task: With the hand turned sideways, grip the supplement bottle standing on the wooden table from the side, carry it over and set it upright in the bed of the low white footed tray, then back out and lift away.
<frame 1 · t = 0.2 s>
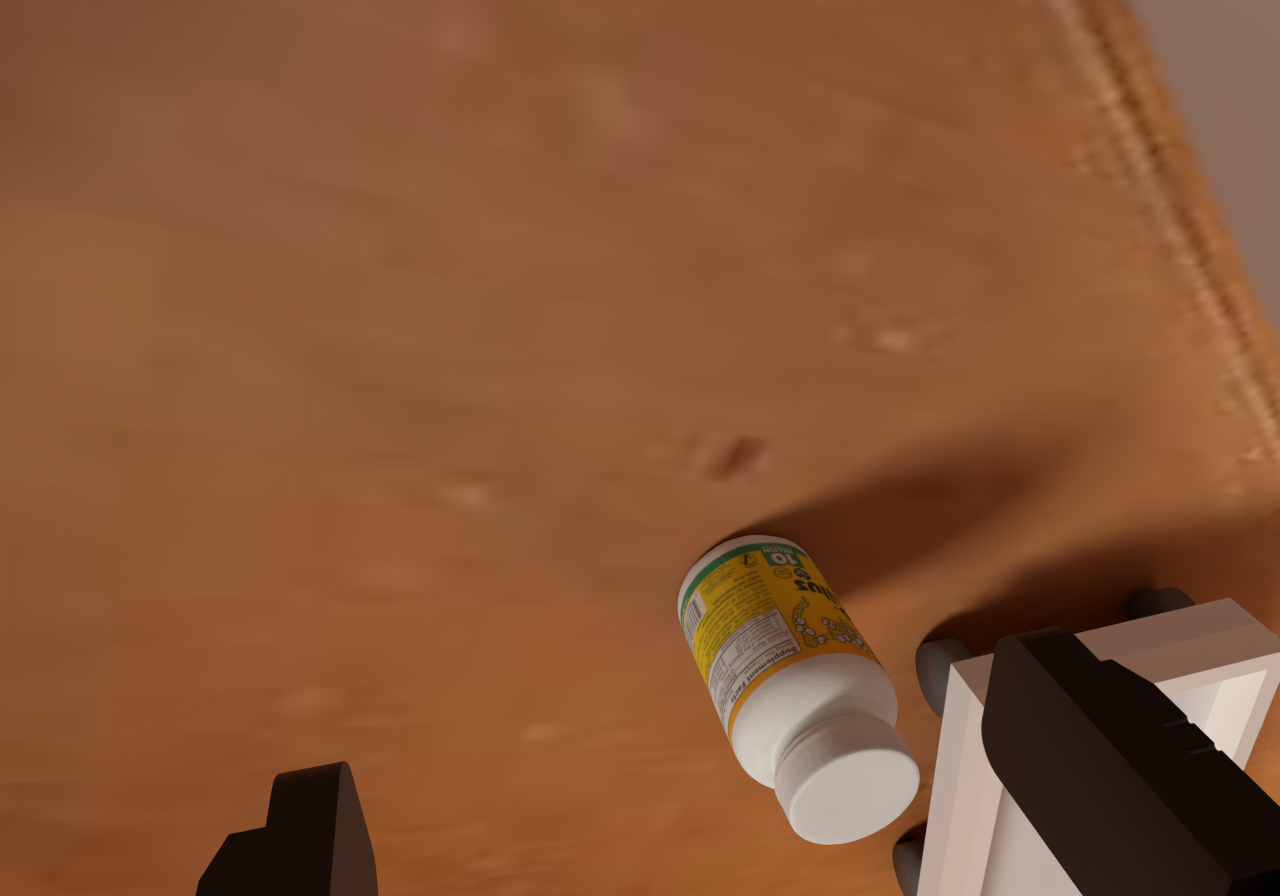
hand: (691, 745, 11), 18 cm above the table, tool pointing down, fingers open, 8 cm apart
white footed tray: (1015, 732, 42), on the table
supplement bottle: (742, 585, 34), on the table
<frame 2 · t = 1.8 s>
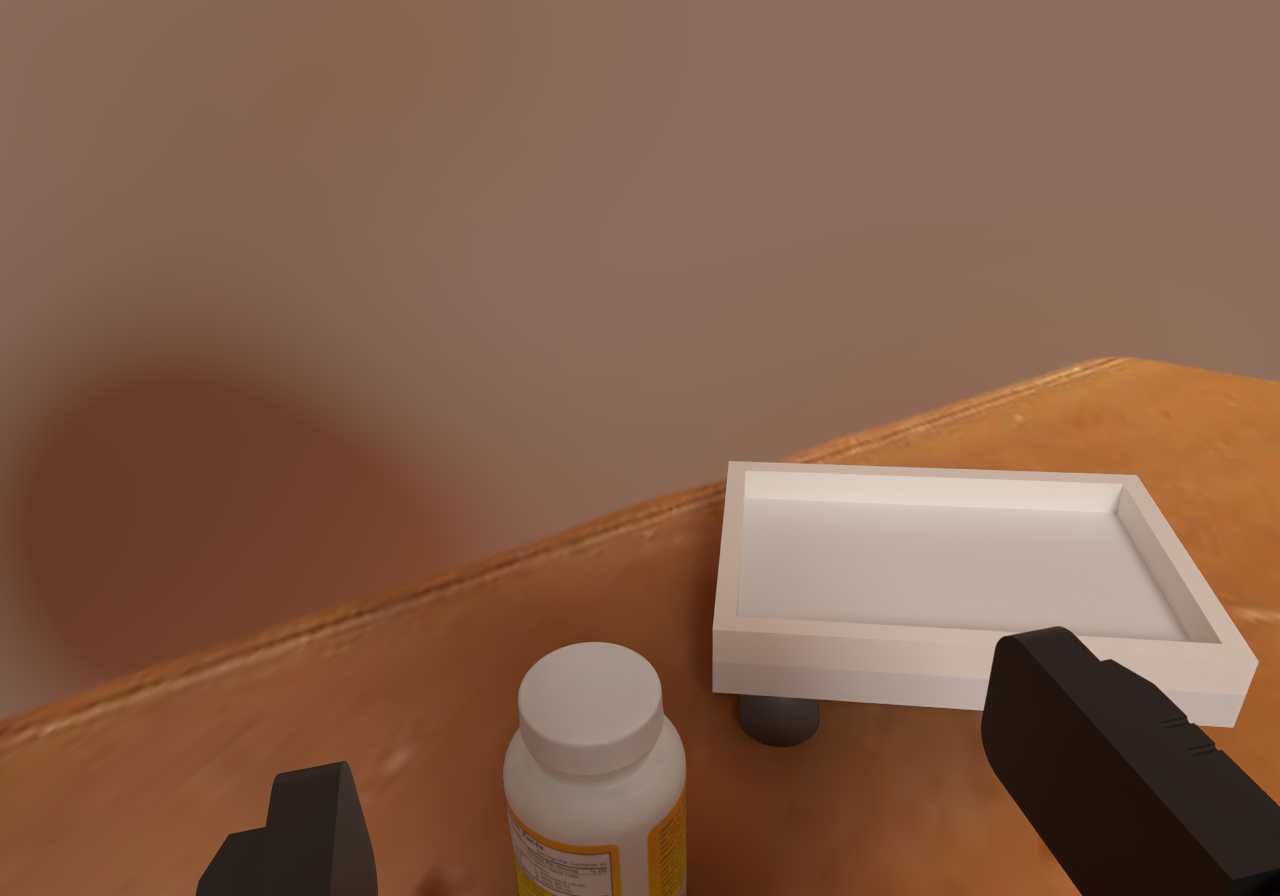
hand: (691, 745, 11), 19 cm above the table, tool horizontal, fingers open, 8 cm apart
white footed tray: (930, 658, 40), on the table
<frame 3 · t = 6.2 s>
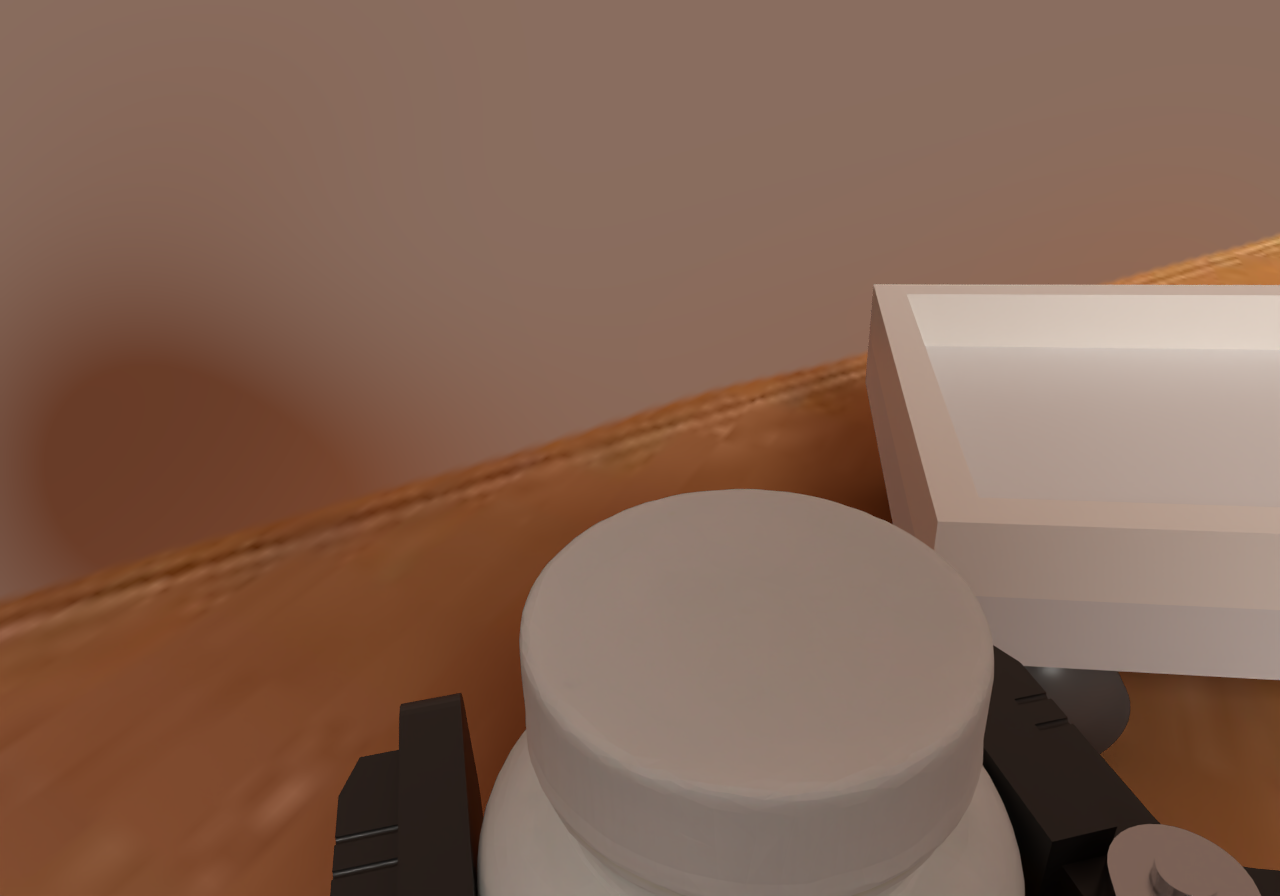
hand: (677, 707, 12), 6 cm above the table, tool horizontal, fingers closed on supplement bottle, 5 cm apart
white footed tray: (1259, 606, 22), on the table
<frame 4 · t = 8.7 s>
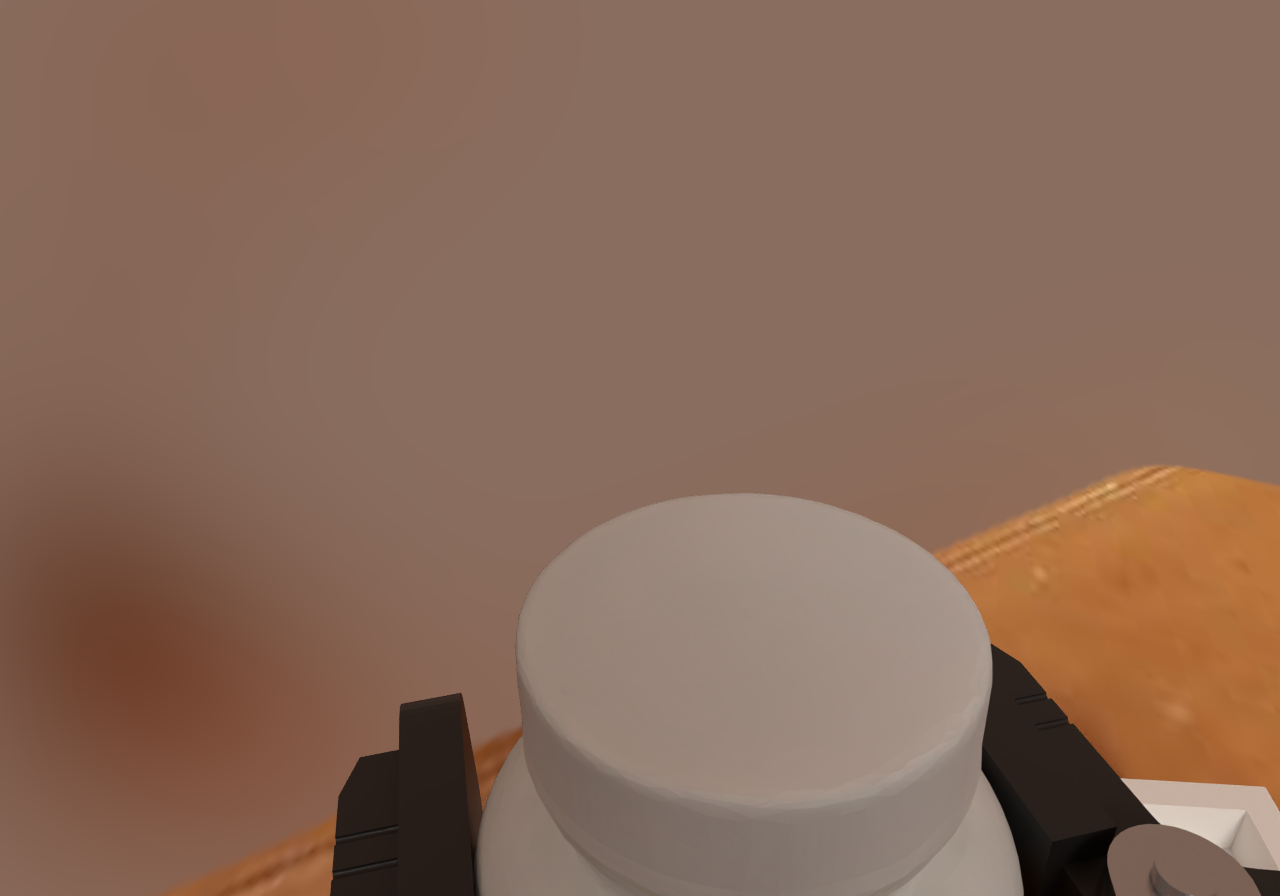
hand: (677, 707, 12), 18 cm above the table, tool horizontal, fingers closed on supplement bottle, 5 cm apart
when the fingers open (12 cm above the table, at t = 11.5 s): supplement bottle drops 1 cm, resting on white footed tray.
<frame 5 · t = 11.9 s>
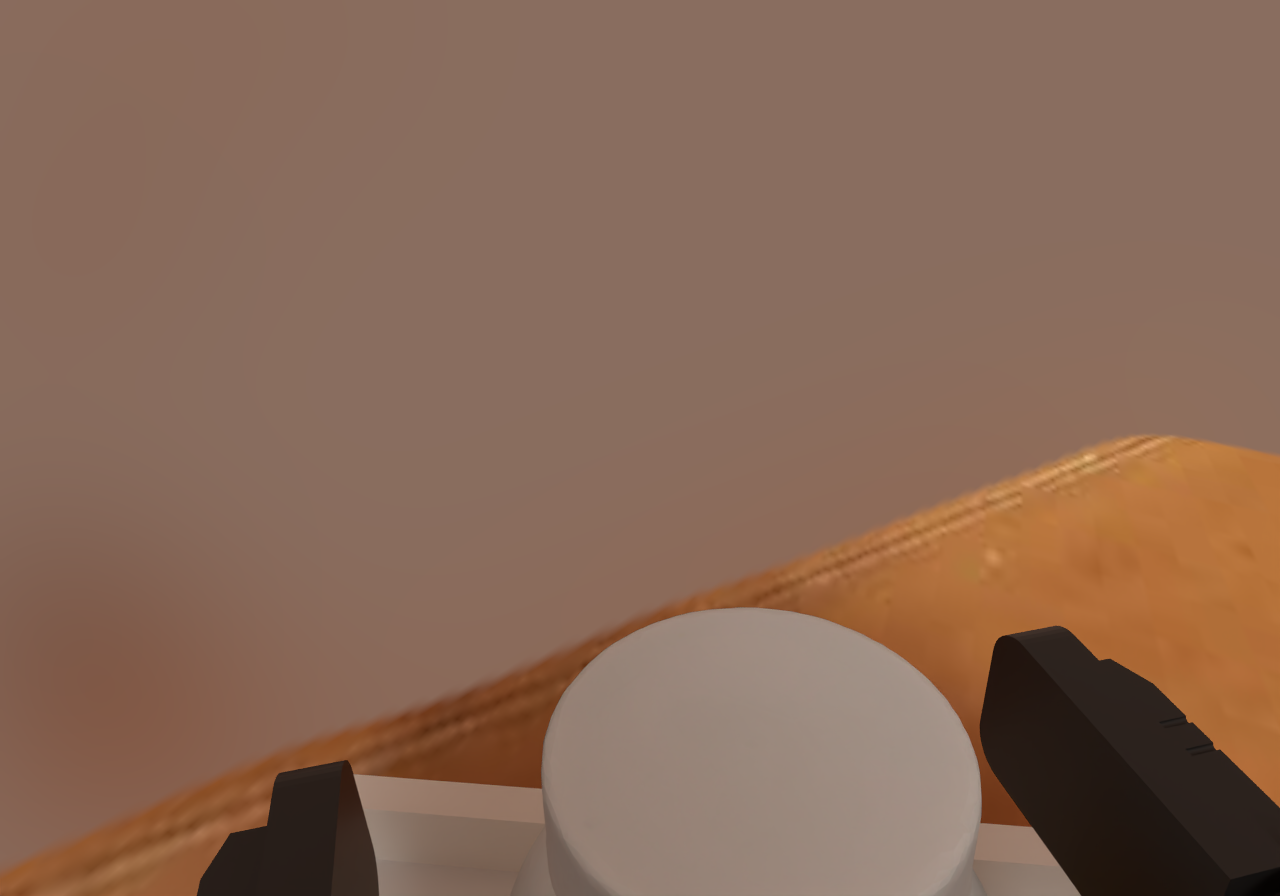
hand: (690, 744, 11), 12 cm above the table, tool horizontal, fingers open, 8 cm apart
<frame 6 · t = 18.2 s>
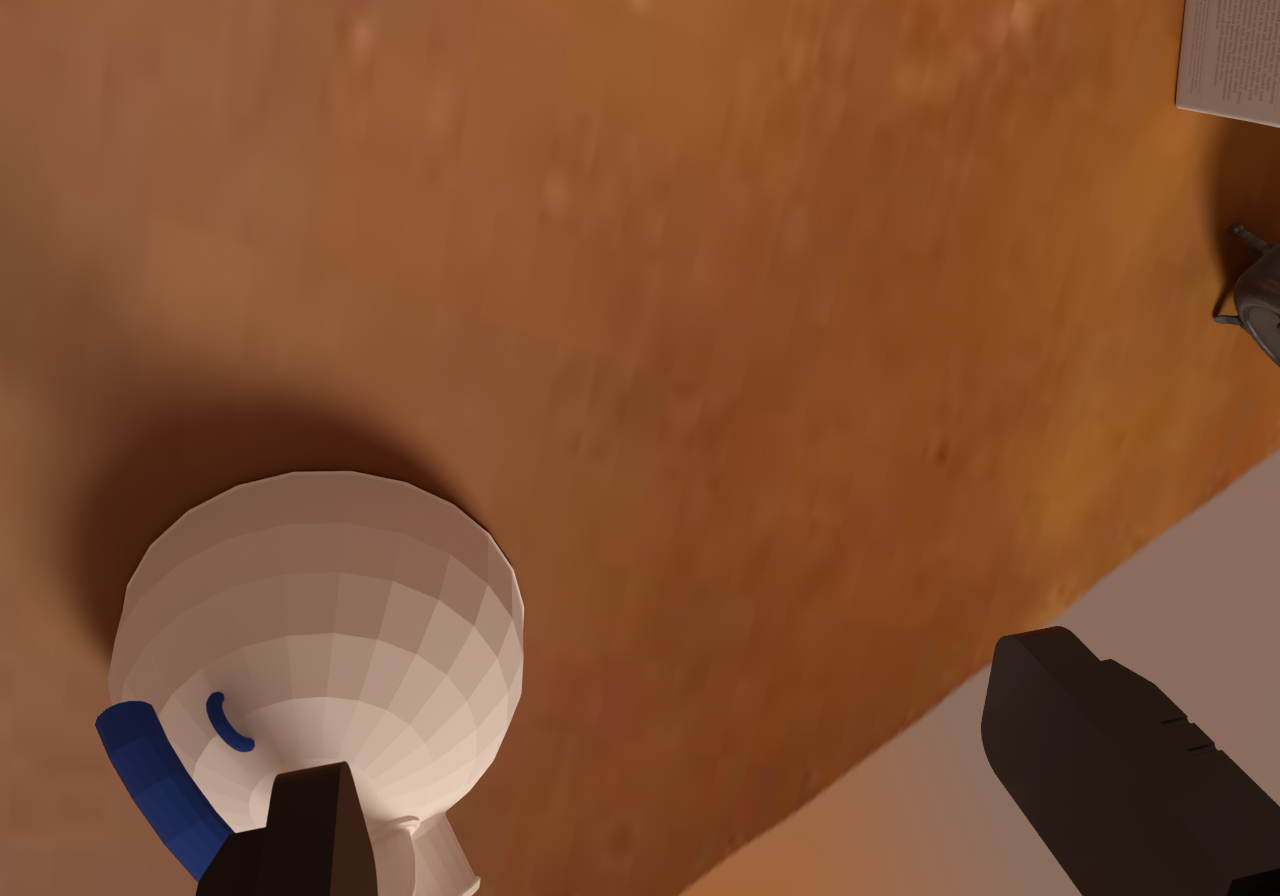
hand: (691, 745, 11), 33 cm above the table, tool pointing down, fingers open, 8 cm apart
alarm clock: (1242, 291, 52), on the table
small box: (1250, 21, 44), on the table
kettle: (335, 631, 49), on the table
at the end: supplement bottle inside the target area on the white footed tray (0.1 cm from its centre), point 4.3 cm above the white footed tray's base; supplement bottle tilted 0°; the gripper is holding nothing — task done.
